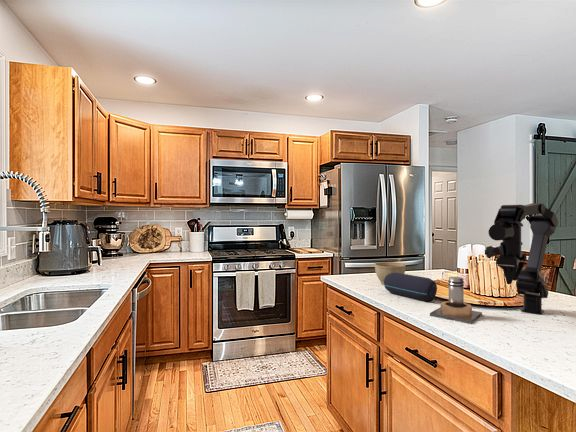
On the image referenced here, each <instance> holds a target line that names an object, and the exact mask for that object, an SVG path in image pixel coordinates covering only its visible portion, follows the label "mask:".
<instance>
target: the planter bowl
mask: <svg viewBox="0 0 576 432" xmlns="http://www.w3.org/2000/svg"><path fill="white" fill-rule="evenodd" d="M406 267H407V265H406V264H405V263H402V262H396V261H394V262H393V261H381V262H375V263H374V271H375V274H376V277H377V279H378V280H379V282H380V285H383V286H384V279H385V277H386V276H387V275H388V274H390V273H402V274H406Z"/></svg>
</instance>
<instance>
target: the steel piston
mask: <svg viewBox="0 0 576 432" xmlns="http://www.w3.org/2000/svg"><path fill="white" fill-rule="evenodd" d="M447 281H448V283H447V284H448V301H449V306H452V307H464V303H465V299H464V295H465V294H464V293H465V292H464V289H465V284H464V282H465V281H464V278H463V277H460V276H449V277H448V280H447Z"/></svg>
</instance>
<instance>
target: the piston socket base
mask: <svg viewBox="0 0 576 432" xmlns="http://www.w3.org/2000/svg"><path fill="white" fill-rule="evenodd" d="M429 316H430V317H434V318H439V319H445V320H449V321H454V320H455V322H459V321H460V323H464V324H472V323H474V322H475V321H477V320H478V319H479V318H480V317H481V316H483V312H482V311H477V310H473V305H471V304H470V303H466V302H464V307H452V306H449V300H447V301H442V302H440V306H439V307H438V308H436V309H434V310H433V311H431V312H429Z"/></svg>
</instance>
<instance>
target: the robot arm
mask: <svg viewBox="0 0 576 432" xmlns="http://www.w3.org/2000/svg"><path fill="white" fill-rule="evenodd" d="M526 217H527V222H528V223H529V225H530V230H531V231H532V233H533V235H532V239H531V244H530V248H529V251H528V252H529V253H528V256H527V255H526V254H525V253H524V252H522V246H523V242H522V228H523V227H524V224H523V223H522V221H523V220H524V219H526ZM558 224H559V220H558V218H557V215H556V214H555V212H554V211H552V210H550V209H549V208H547V207H546V205H545V204H544V203H539V202H537V203H536V202H535V203H529V204H503V205H501V206H500V208H499V209H498V211H497V213H496V216H495V219H494V222H493V224H492V225H491V226H490V227H489V230H488V231H487V232H488V236H489V237H490V238H491V239H492V240H493V241H497V242H498V241H500V244H499V246H495V247H494V246H492V245H489V246H486V247H485V249H484V255H486V258H487V259H491V258H492V257H493V258H494V257H496V256H498V257H496V258H495V264H496V265H497V266H498V267H499V268H501V270H502V271H503V274H504V277H505V282H506V284H507V285H512V284H513V281H514V282H515V286H516V292H517V295H523V307H522V309H520V311H521V312H522V313H523V312H524V313H528V314H529V313H531V314H537V315H543V313H544V311H545V310H544V309H543V307H542V305H543V302H542V301H543V299H548V296H549V290H548V288H547V286H546V284H545V279H544V276H543V274H542V267H543V262H544V260H545V259H544V258H545V253H546V248H547V244H548V239H549V238H550V237H551V236H552V235H553V234H554V233H555V232H556V229H557V227H558ZM525 265H526V266H525ZM524 266H525V268H524Z"/></svg>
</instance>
